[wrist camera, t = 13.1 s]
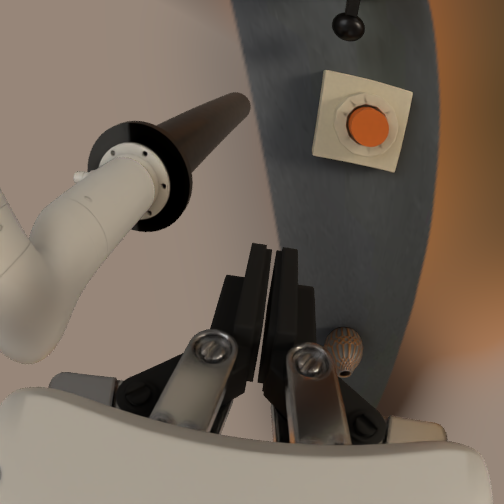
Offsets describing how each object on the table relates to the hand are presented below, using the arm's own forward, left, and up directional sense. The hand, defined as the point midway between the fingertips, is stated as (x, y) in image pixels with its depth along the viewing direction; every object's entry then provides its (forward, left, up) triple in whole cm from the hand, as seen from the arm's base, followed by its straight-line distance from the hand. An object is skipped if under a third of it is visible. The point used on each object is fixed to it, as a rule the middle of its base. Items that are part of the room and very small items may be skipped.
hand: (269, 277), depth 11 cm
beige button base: (+8, +3, -26) cm, 28 cm away
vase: (+15, -33, -26) cm, 45 cm away
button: (+8, +3, -23) cm, 24 cm away
